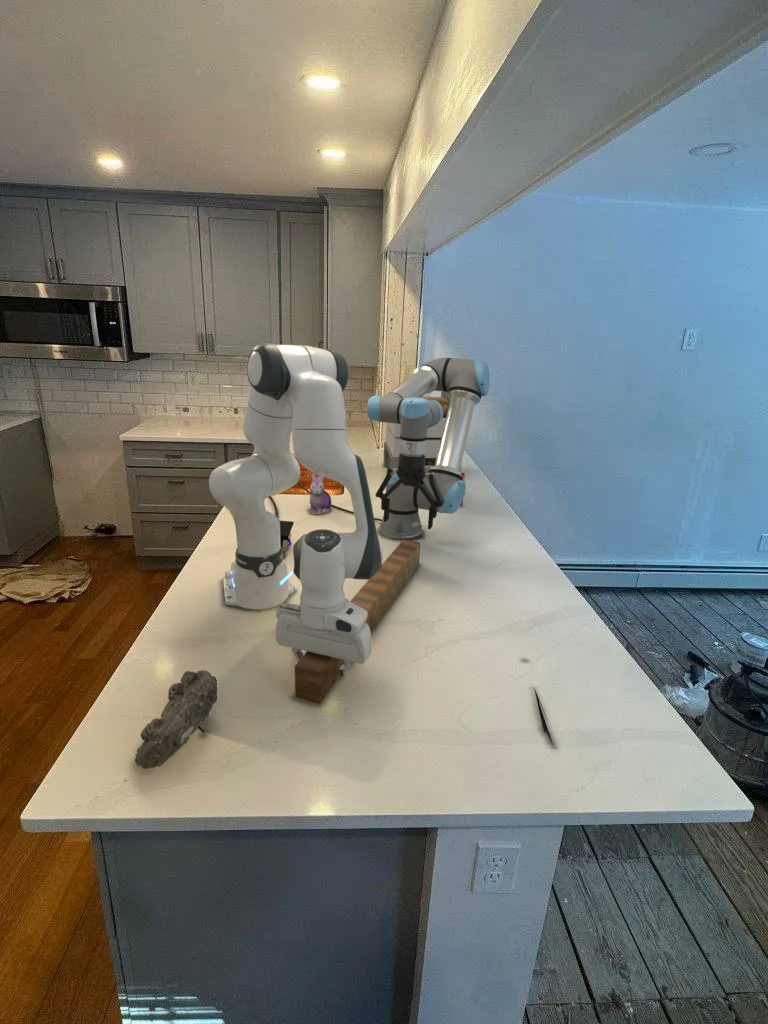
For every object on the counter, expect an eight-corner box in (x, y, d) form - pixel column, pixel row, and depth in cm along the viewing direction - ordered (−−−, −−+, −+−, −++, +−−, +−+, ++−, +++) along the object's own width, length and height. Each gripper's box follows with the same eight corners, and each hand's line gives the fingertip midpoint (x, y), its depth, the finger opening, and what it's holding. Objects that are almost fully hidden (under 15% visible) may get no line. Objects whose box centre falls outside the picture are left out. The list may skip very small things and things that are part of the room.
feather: (525, 664, 131) (530, 658, 130) (552, 749, 104) (559, 742, 103) (519, 660, 130) (524, 654, 130) (545, 745, 104) (552, 738, 103)
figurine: (313, 516, 212) (313, 478, 207) (304, 507, 221) (303, 470, 215) (336, 513, 216) (337, 475, 211) (326, 505, 225) (327, 468, 220)
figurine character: (288, 562, 177) (294, 539, 190) (288, 541, 173) (294, 518, 187) (267, 561, 177) (274, 538, 190) (266, 540, 173) (273, 518, 187)
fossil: (167, 671, 114) (219, 638, 109) (200, 702, 116) (252, 671, 112) (109, 762, 94) (169, 727, 89) (151, 796, 97) (212, 765, 92)
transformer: (382, 463, 289) (386, 382, 275) (445, 464, 293) (451, 384, 279) (390, 482, 257) (394, 392, 243) (460, 483, 261) (468, 394, 247)
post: (402, 561, 178) (403, 539, 176) (419, 564, 177) (420, 542, 174) (295, 697, 114) (294, 665, 112) (320, 704, 113) (320, 672, 110)
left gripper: (268, 608, 113) (270, 667, 118) (364, 628, 107) (362, 689, 112) (283, 594, 119) (285, 651, 124) (375, 613, 113) (373, 671, 118)
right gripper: (366, 451, 160) (363, 521, 168) (452, 462, 153) (446, 535, 160) (375, 446, 167) (372, 513, 174) (458, 456, 160) (452, 526, 167)
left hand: (322, 669), depth 118 cm, fingers open, 8 cm apart
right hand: (407, 524), depth 167 cm, fingers open, 13 cm apart
